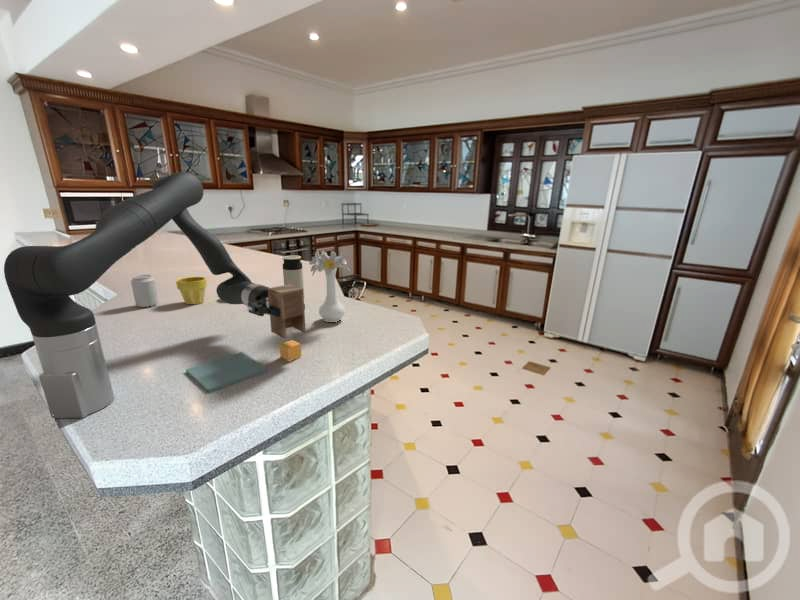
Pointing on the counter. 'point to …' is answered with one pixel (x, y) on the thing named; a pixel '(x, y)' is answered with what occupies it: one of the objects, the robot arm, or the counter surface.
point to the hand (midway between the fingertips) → (291, 310)
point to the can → (144, 290)
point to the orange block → (290, 350)
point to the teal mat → (225, 371)
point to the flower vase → (329, 284)
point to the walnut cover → (287, 308)
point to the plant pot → (192, 289)
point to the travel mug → (293, 271)
